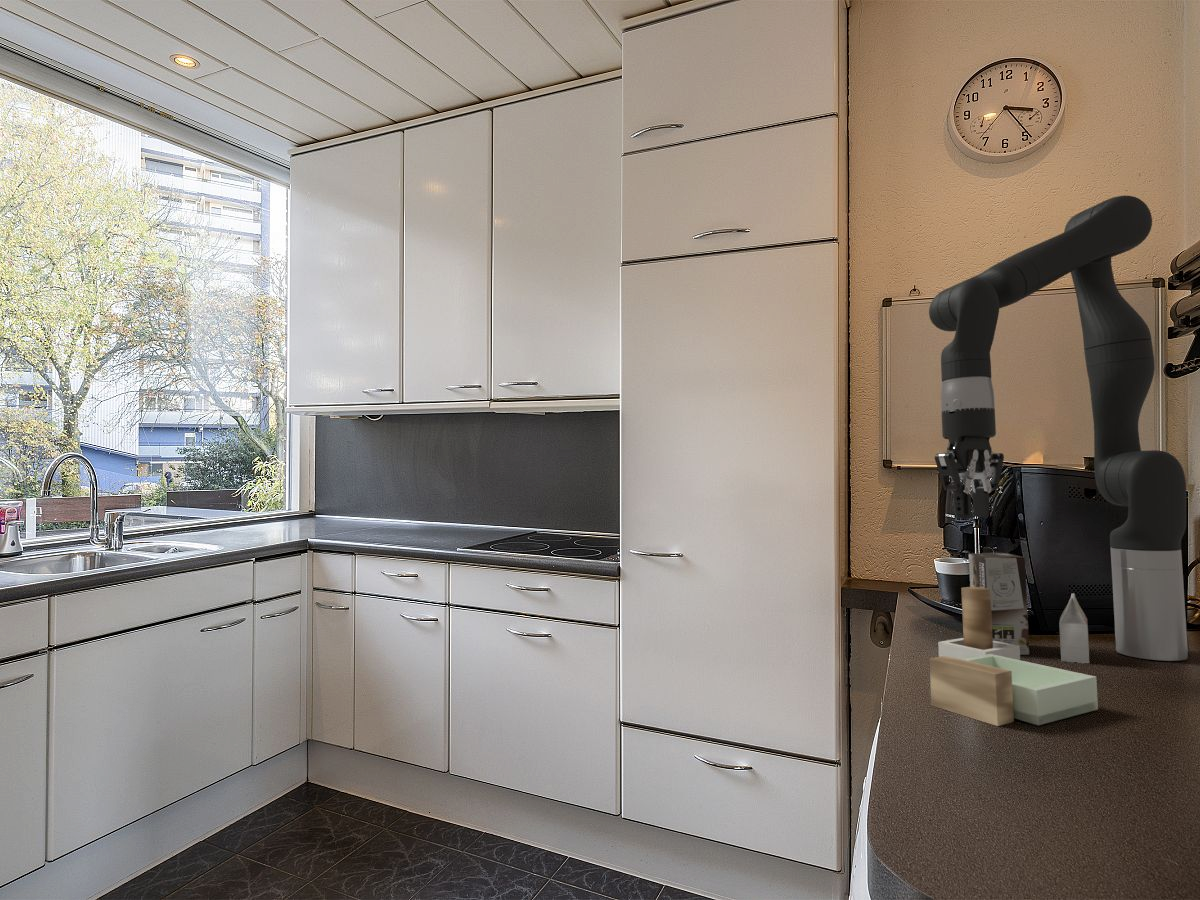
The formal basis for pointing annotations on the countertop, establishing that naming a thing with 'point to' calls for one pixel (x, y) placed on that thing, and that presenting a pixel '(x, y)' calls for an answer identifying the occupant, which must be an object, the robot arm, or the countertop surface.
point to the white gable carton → (1074, 633)
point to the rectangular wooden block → (972, 689)
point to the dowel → (977, 617)
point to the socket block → (962, 652)
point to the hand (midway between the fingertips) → (972, 516)
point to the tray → (1045, 690)
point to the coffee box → (1004, 595)
